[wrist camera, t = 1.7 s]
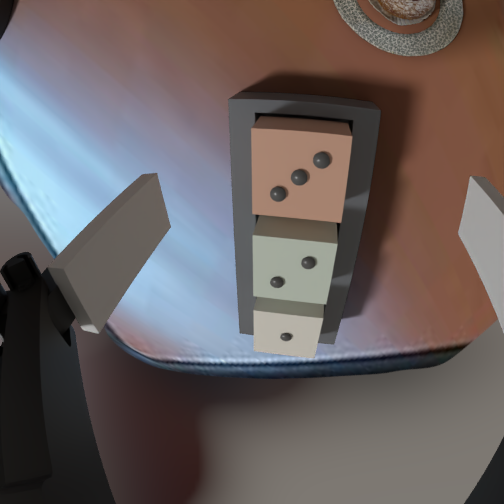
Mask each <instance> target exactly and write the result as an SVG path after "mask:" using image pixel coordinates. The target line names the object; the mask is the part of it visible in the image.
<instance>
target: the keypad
mask: <svg viewBox="0 0 504 504" xmlns="http://www.w3.org/2000/svg"><path fill="white" fill-rule="evenodd" d="M228 102H229V130H230V155H231V179H232V201H233V222H234V241H235V260H236V279H237V296H238V313H239V329H240V333H242V334H249V335H254V313H253V310H254V306H255V302H256V299H257V297H256V296H253V232H254V229H255V227H256V224H257V221H258V218H259V215H256V214H252V151H251V128H252V127H253V125H254V124H255V123H256V121H257V120H258V119H259V117H260V116H272V117H289V118H303V119H315V120H326V121H335V122H344V123H348V125H349V128H350V131H351V134H352V145H351V154H350V162H349V170H348V178H347V186H346V193H345V200H344V207H343V214H342V220H341V223H337V241H338V245H337V250H336V256H335V262H334V267H333V273H332V278H331V283H330V288H329V293H328V298H327V303H326V304H324V313H323V322H322V326H321V331H320V335H319V340H318V343H324V344H334V343H335V339H336V336H337V332H338V329H339V325H340V321H341V318H342V314H343V310H344V306H345V303H346V299H347V295H348V291H349V287H350V283H351V279H352V274H353V270H354V266H355V261H356V257H357V253H358V248H359V243H360V239H361V234H362V229H363V224H364V219H365V214H366V208H367V203H368V197H369V192H370V186H371V180H372V174H373V167H374V161H375V154H376V147H377V139H378V132H379V124H380V115H381V110H380V109H379V108H378V107H377V106H376V105H375V104H374V103H373V102H370V101H363V100H355V99H347V98H339V97H329V96H319V95H307V94H292V93H271V92H239V93H237V94H236V95H234V96H232V97H231V98H229V99H228Z"/></svg>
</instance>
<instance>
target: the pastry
mask: <svg viewBox="0 0 504 504" xmlns="http://www.w3.org/2000/svg"><path fill="white" fill-rule="evenodd" d="M368 1H369V2H370V4H372V5H373V6H374V8H375V9H376V10H377V11H379V12H380V13H381V14H383V16H384V17H385V18H387V19H388V20H389V21H392V22H393V23H396V24H397V25H408V24H416V23H420V22H422V21H423V19H426V18H427V17H428V16H429V15H431V14H432V13H431V12H432V11H434V9H435V2H436V0H368ZM334 3H335V6H336V8H337V10H338V11H339V14H340V15H341V17H342V18H343V19H344V20H345V22H346V23H347V24H348V25H349V26H350V27H351V28H352V30H354V31H355V32H356V33H357V34H358V35H359V36H360V37H361V38H363V39H364V40H366V41H367V42H369V43H370V44H372V45H374V46H376V47H377V48H379V49H382V50H384V51H386V52H390V53H393V54H397V55H402V56H422V55H428V54H431V53H434V52H436V51H439V50H441V49H442V48H444V47H446V46H447V45H448V44H449V43H450V42H452V40H453V39H454V38H455V36H456V35H457V33H458V31H459V28H460V25H461V22H462V18H463V6H462V0H440V12H439V15H438V17H437V19H436V21H435V22H434V23H433V24H432V26H430V27H429V28H428V29H426V30H424V31H422V32H419V33H415V34H399V33H395V32H392V31H389V30H386V29H384V28H383V27H380V26H379V25H377V24H376V23H374V22H373V21H372V20H371V19H370V18H369V17H368V16H367V15H366V14H365V13H364V12H363V11H362V9H361V8H360V6H359V4H358V2H357V0H334Z"/></svg>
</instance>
